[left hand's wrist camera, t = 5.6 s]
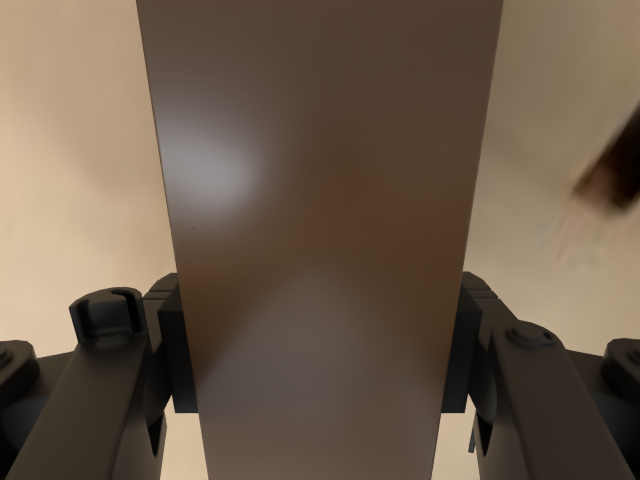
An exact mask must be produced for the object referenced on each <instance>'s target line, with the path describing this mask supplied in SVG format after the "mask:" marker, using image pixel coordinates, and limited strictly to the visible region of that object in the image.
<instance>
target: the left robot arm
mask: <svg viewBox="0 0 640 480" xmlns="http://www.w3.org/2000/svg"><path fill="white" fill-rule="evenodd" d="M69 311H70V314H71V318H72V322H73V325H74V329H75V332H76V336H77V340H78V344H77V346H76V348H75V350H74V351H72V352H68V353H62V354H57V355H52V356H47V357H41V358H37V357H36V354H35V351H34V348H33V345H31V344H30V343H28V342H27V341H21V340H11V341H0V480H160V475H161V467H162V460H163V452H164V445H165V437H166V430H167V424H166V418H165V412H164V409H165V407H166V405H167V403H168V401H169V399H170V397H171V395H172V398H173V404H174V409H175V413H198V406H197V400H196V393H195V386H194V380H193V373H192V367H191V360H190V353H189V347H188V340H187V334H186V327H185V320H184V314H183V307H182V301H181V294H180V288H179V281H178V274H177V273H170V274H168V275H167V276H165V277H163V278H161V279H160V280H158V281H157V282H156V283H155V284H154V285H153V286H152V287H151V288H150V290H149V292H147V293H146V294H145V295H144V296H143V298H142V294H141V292H139V291H138V290H137V289H134V288H129V287H113V288H108V289H103V290H99V291H96V292H93V293H90V294H87V295H85V296H83V297H81V298H79V299H78V300H76V301H75V302H74V303H73V304H71V305H70V306H69ZM468 393H469V395H470V397H471V399H472V401H473V403H474V406H475V408H476V412H475V418H474V423H473V428H472V433H471V438H470V443H469V450H468V452H470V453H474V448H475V445H476V451H477V459H478V466H479V474H480V480H640V339H628V338H621V339H613V340H612V341H611V342H609V343H608V344H607V347H606V350H605V353H604V356H597V355H592V354H587V353H581V352H576V351H571V350H567V349H565V347H564V345H563V344H562V342H561V341H560V340H559V338H558V337H557V336H556V335H555V334H553V333H552V332H550V331H549V330H547V329H546V328H544V327H541V326H539V325H536V324H534V323H531V322H526V321H522V320H518V319H517V318H516V317H515V316H514V314H513V313H512V312H511V311H510V310H509V309H508V308H507V306H506V305H505V304H504V303H503V302H502V301H501V300H500V299H498V296H497V295H496V294H495V293H494V292H493V291H491V288H490V287H489V286H488V285H487V284H486V283H485V281H484V280H483V279H481V278H479V277H477V276H476V275H474V274H472V273H470V272H462V278H461V285H460V291H459V298H458V305H457V311H456V318H455V325H454V331H453V338H452V344H451V351H450V358H449V364H448V371H447V377H446V384H445V391H444V397H443V404H442V410H441V413H465V408H466V402H467V397H468Z"/></svg>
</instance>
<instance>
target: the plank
mask: <svg viewBox="0 0 640 480" xmlns="http://www.w3.org/2000/svg"><path fill="white" fill-rule="evenodd" d="M503 1H504V0H136V4H137V11H138V17H139V24H140V30H141V37H142V44H143V50H144V57H145V63H146V70H147V77H148V83H149V90H150V96H151V103H152V110H153V116H154V123H155V129H156V136H157V142H158V149H159V156H160V162H161V169H162V175H163V182H164V189H165V195H166V202H167V208H168V215H169V222H170V228H171V235H172V241H173V248H174V255H175V261H176V268H177V274H178V281H179V288H180V294H181V301H182V307H183V314H184V320H185V327H186V334H187V340H188V347H189V353H190V360H191V367H192V373H193V380H194V386H195V393H196V400H197V406H198V413H199V419H200V426H201V433H202V439H203V446H204V452H205V459H206V466H207V472H208V479H209V480H431V476H432V470H433V463H434V457H435V450H436V443H437V437H438V430H439V424H440V417H441V410H442V404H443V397H444V391H445V384H446V377H447V371H448V364H449V358H450V351H451V344H452V338H453V331H454V325H455V318H456V311H457V305H458V298H459V291H460V285H461V278H462V272H463V265H464V258H465V252H466V245H467V239H468V232H469V225H470V219H471V212H472V206H473V199H474V192H475V186H476V179H477V173H478V166H479V159H480V153H481V146H482V140H483V133H484V126H485V120H486V113H487V107H488V100H489V93H490V87H491V80H492V73H493V67H494V60H495V54H496V47H497V40H498V34H499V27H500V21H501V14H502V7H503Z"/></svg>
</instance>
